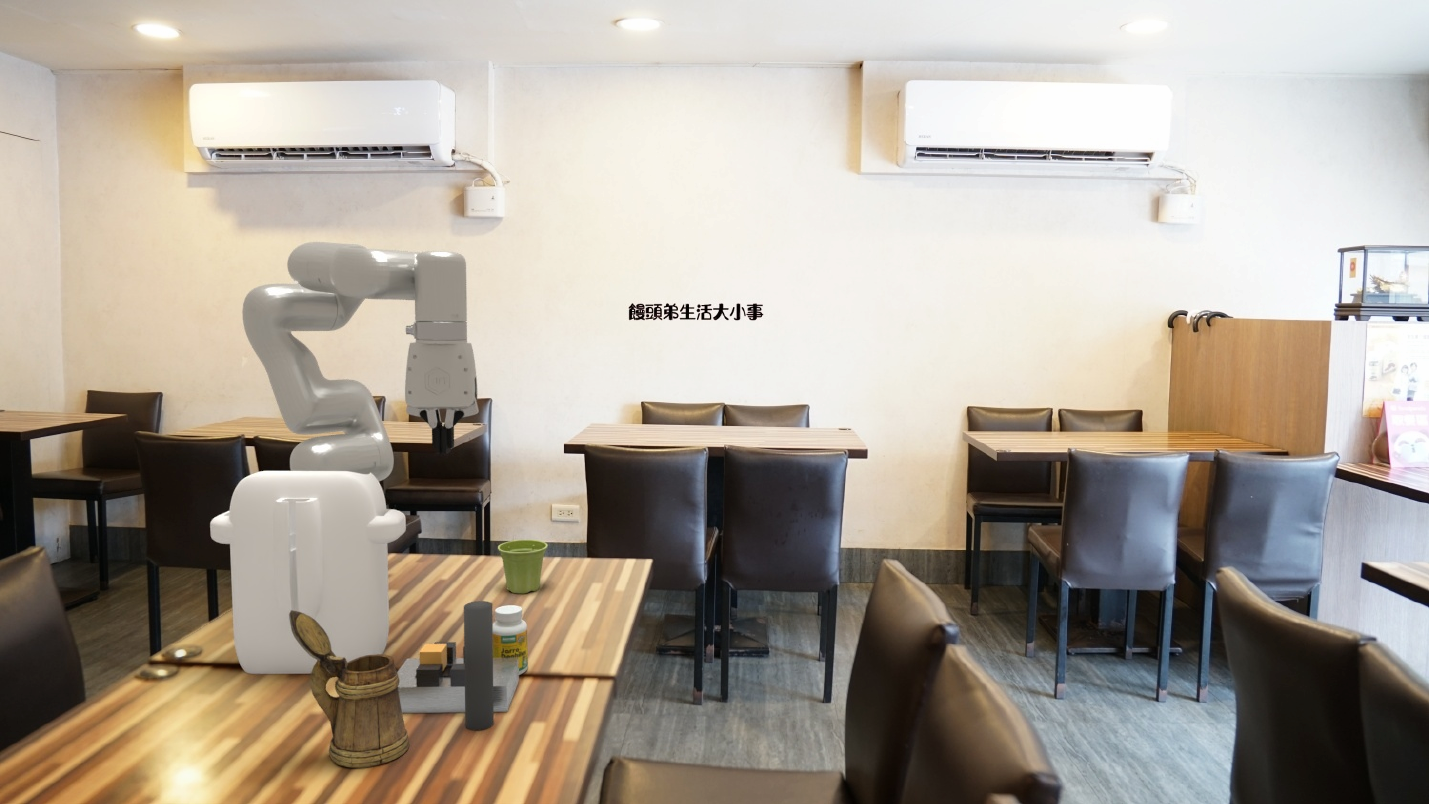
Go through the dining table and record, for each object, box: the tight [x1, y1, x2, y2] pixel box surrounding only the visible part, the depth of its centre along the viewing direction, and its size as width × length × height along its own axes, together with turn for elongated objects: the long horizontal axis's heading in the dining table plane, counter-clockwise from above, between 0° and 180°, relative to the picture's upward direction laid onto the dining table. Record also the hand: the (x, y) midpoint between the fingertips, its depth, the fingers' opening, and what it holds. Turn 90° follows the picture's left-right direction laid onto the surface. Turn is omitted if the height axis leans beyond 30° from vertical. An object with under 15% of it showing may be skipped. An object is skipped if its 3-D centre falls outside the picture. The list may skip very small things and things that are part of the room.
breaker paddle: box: [418, 643, 447, 670], centre depth 125 cm, size 3×3×3 cm
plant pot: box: [497, 539, 549, 595], centre depth 174 cm, size 9×9×9 cm
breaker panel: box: [397, 641, 520, 714], centre depth 126 cm, size 16×10×6 cm, turn 93°
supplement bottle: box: [493, 604, 529, 676], centre depth 135 cm, size 5×5×10 cm
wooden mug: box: [289, 610, 410, 769], centre depth 109 cm, size 9×14×18 cm, turn 96°
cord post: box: [463, 600, 495, 731], centre depth 117 cm, size 4×4×16 cm
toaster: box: [209, 470, 407, 675], centre depth 134 cm, size 27×11×30 cm, turn 94°
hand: (443, 452), depth 138 cm, fingers closed
